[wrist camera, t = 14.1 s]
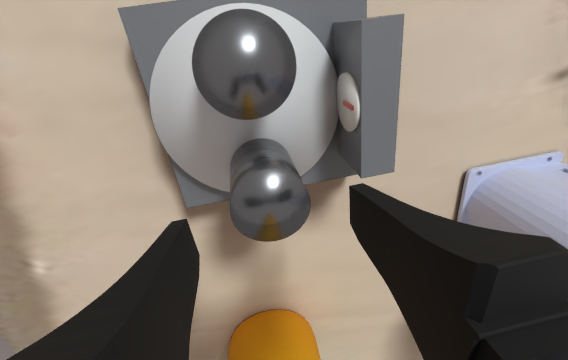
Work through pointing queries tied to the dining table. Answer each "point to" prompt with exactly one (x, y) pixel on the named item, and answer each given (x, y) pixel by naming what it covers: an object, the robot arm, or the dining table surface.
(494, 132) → the dining table surface
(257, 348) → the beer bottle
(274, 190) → the cylinder
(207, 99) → the ball
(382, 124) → the dial scale
